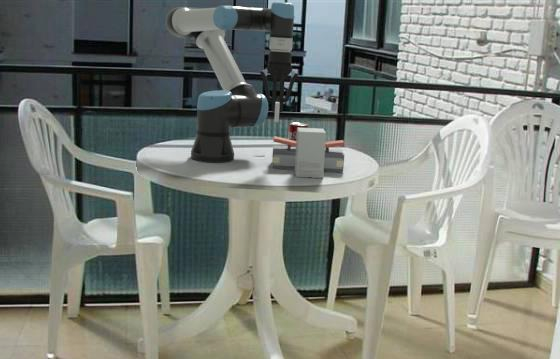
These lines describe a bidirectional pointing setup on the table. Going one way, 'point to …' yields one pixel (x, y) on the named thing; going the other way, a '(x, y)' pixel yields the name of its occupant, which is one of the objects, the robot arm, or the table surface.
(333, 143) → the right rocker
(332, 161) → the switch unit
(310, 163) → the supplement box
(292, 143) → the left rocker
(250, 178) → the table surface
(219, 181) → the table surface
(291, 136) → the soda can
